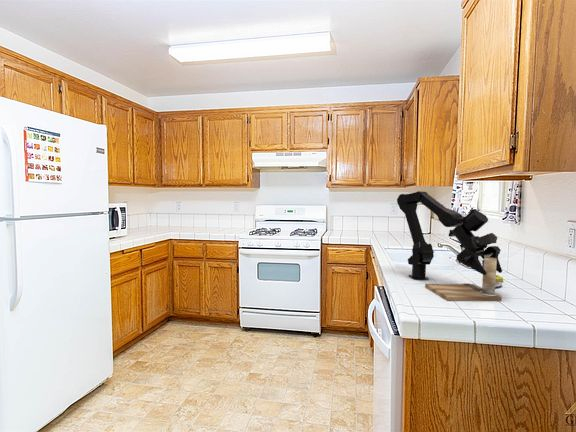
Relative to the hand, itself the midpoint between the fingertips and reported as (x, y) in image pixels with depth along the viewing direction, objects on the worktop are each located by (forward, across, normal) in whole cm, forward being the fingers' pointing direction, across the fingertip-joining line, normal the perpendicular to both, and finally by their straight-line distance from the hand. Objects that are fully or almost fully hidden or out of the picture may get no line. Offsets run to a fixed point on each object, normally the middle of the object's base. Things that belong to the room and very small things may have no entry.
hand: (493, 273), depth 122 cm
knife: (-3, +24, +17) cm, 29 cm away
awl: (+4, 0, +6) cm, 8 cm away
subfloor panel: (0, -4, +13) cm, 14 cm away
